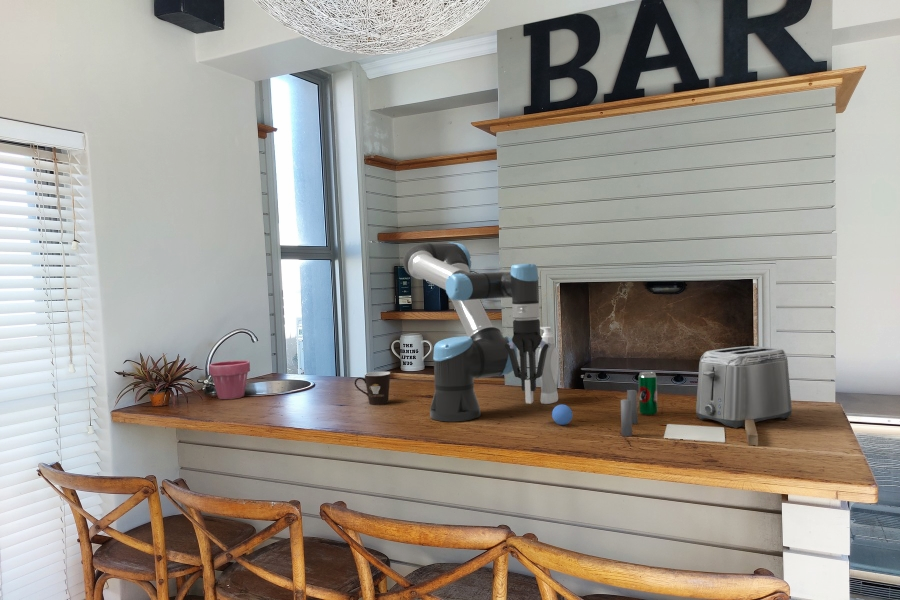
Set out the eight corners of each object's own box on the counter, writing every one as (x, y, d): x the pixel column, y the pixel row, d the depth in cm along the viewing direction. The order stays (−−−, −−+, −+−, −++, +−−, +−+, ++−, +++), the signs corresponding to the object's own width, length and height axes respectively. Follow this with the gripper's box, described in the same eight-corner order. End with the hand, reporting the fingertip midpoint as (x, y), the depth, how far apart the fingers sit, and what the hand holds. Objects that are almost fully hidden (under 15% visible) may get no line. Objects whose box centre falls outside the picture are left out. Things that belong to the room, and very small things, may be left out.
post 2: (627, 424, 168) (626, 391, 168) (628, 421, 171) (627, 389, 170) (636, 424, 167) (636, 391, 167) (638, 422, 170) (637, 390, 169)
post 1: (620, 436, 157) (620, 401, 156) (622, 433, 159) (621, 399, 159) (631, 436, 156) (630, 401, 155) (632, 434, 158) (631, 399, 158)
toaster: (683, 418, 172) (682, 351, 172) (759, 406, 184) (758, 342, 183) (732, 432, 157) (731, 358, 156) (812, 417, 169) (811, 348, 168)
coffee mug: (396, 401, 209) (395, 372, 209) (380, 406, 202) (379, 376, 201) (370, 398, 215) (368, 370, 215) (353, 403, 208) (352, 374, 208)
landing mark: (663, 438, 153) (663, 437, 153) (667, 424, 166) (667, 424, 166) (725, 442, 148) (725, 441, 148) (724, 428, 161) (724, 427, 161)
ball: (550, 426, 169) (549, 406, 169) (554, 421, 174) (554, 402, 174) (570, 427, 167) (569, 407, 166) (574, 422, 172) (574, 403, 172)
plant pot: (228, 392, 237) (227, 359, 237) (259, 393, 233) (257, 360, 232) (202, 400, 224) (200, 365, 223) (234, 401, 219) (232, 366, 218)
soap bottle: (541, 396, 209) (539, 324, 208) (563, 397, 205) (561, 325, 204) (527, 404, 198) (525, 328, 197) (550, 405, 194) (548, 328, 193)
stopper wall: (748, 445, 145) (748, 434, 145) (745, 428, 160) (744, 418, 160) (757, 446, 144) (757, 435, 144) (753, 429, 159) (753, 419, 159)
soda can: (658, 415, 177) (657, 374, 176) (640, 415, 178) (639, 374, 177) (656, 411, 182) (655, 371, 181) (638, 411, 183) (637, 371, 182)
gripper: (499, 320, 172) (503, 404, 173) (545, 319, 167) (548, 406, 167) (508, 318, 179) (511, 398, 179) (552, 317, 174) (555, 400, 174)
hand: (529, 402), depth 173 cm, fingers closed
